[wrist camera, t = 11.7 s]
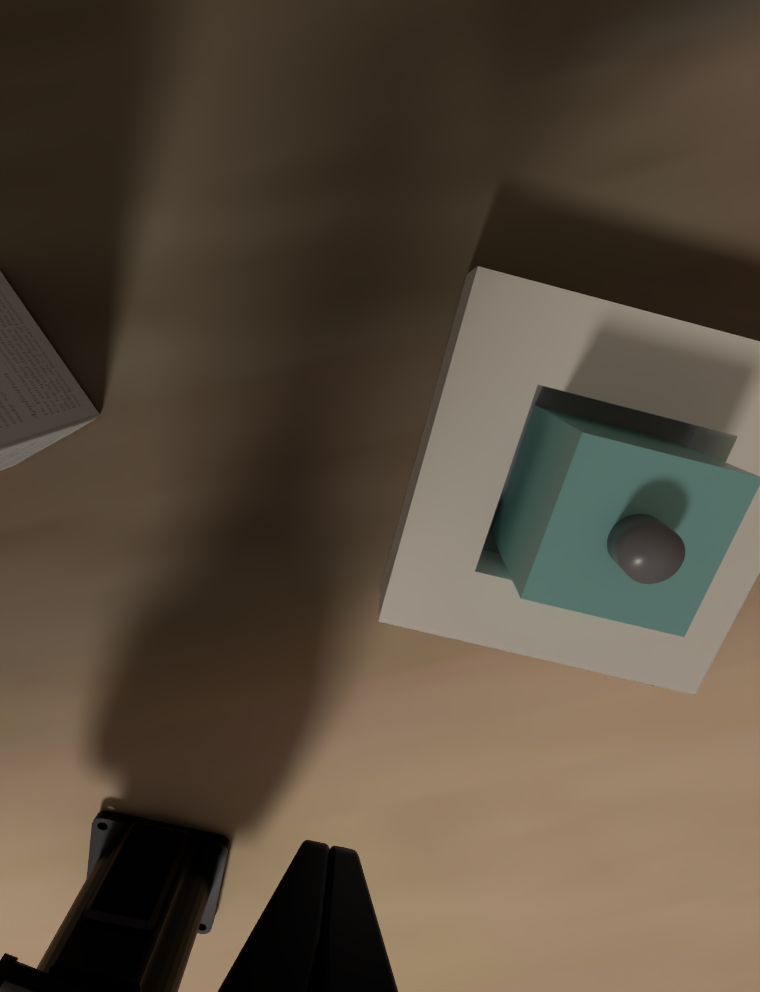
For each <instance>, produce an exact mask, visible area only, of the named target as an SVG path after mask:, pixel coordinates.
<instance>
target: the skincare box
mask: <svg viewBox="0 0 760 992" xmlns="http://www.w3.org/2000/svg"><path fill="white" fill-rule="evenodd" d="M98 416H99V413H98V411H97V410H96V408H95V407H94V405H93V404H92V403H91V401H90V400H89V398H88V397H87V396H86V394H85V393H84V391H83V390H82V388H81V387H80V385H79V384H78V383H77V381H76V380H75V378H74V377H73V375H72V374H71V373H70V371H69V370H68V368H67V367H66V365H65V364H64V362H63V361H62V360H61V358H60V357H59V355H58V354H57V352H56V351H55V349H54V348H53V347H52V345H51V344H50V342H49V341H48V339H47V338H46V336H45V335H44V334H43V332H42V331H41V329H40V328H39V326H38V325H37V323H36V322H35V320H34V319H33V318H32V316H31V315H30V313H29V312H28V310H27V309H26V307H25V306H24V304H23V303H22V302H21V300H20V299H19V297H18V296H17V294H16V293H15V292H14V290H13V289H12V287H11V286H10V284H9V283H8V281H7V280H6V278H5V277H4V275H3V274H2V272H1V271H0V471H1V470H4V469H6V468H9V467H11V466H14V465H16V464H18V463H19V462H21V461H23V460H25V459H26V458H28V457H30V456H32V455H33V454H35V453H37V452H39V451H40V450H42V449H44V448H46V447H48V446H49V445H51V444H53V443H55V442H57V441H58V440H60V439H62V438H64V437H66V436H67V435H69V434H71V433H73V432H74V431H76V430H78V429H80V428H81V427H83V426H85V425H87V424H88V423H90V422H92V421H93V420H95V419H96V418H98Z"/></svg>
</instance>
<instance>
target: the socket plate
mask: <svg viewBox="0 0 760 992" xmlns="http://www.w3.org/2000/svg"><path fill="white" fill-rule="evenodd" d="M534 405H537V406H540V407H544V408H548V409H552V410H556V411H560V412H564V413H568V414H572V415H576V416H580V417H584V418H588V419H592V420H596V421H600V422H604V423H608V424H611V425H615V426H619V427H623V428H627V429H631V430H635V431H639V432H643V433H647V434H651V435H655V436H659V437H663V438H667V439H670V440H672V441H675V442H677V443H680V444H682V445H685V446H687V447H689V448H692V449H694V450H697V451H699V452H702V453H704V454H706V455H709V456H711V457H714V458H716V459H718V460H721V461H723V462H726V463H728V464H731V465H733V466H735V467H738V468H740V469H743V470H745V471H748V472H750V473H752V474H755V475H757V476H760V341H756V340H753V339H749V338H745V337H741V336H738V335H734V334H730V333H726V332H723V331H719V330H715V329H711V328H708V327H704V326H700V325H696V324H693V323H689V322H685V321H682V320H678V319H674V318H670V317H667V316H663V315H659V314H655V313H652V312H648V311H644V310H640V309H637V308H633V307H629V306H625V305H622V304H618V303H614V302H610V301H607V300H603V299H599V298H595V297H592V296H588V295H584V294H580V293H577V292H573V291H569V290H566V289H562V288H558V287H554V286H551V285H547V284H543V283H539V282H536V281H532V280H528V279H524V278H521V277H517V276H513V275H509V274H506V273H502V272H498V271H494V270H491V269H487V268H483V267H479V266H477V267H476V268H475V269H473V270H472V271H471V272H469V273H468V274H467V275H466V279H465V283H464V286H463V290H462V293H461V297H460V301H459V304H458V308H457V312H456V315H455V319H454V322H453V326H452V330H451V333H450V337H449V341H448V344H447V348H446V351H445V355H444V359H443V362H442V366H441V370H440V373H439V377H438V380H437V384H436V388H435V391H434V395H433V398H432V402H431V406H430V409H429V413H428V417H427V420H426V424H425V427H424V431H423V435H422V438H421V442H420V446H419V449H418V453H417V456H416V460H415V464H414V467H413V471H412V475H411V478H410V482H409V485H408V489H407V493H406V496H405V500H404V504H403V507H402V511H401V514H400V518H399V522H398V525H397V529H396V532H395V536H394V540H393V543H392V547H391V551H390V554H389V558H388V561H387V565H386V569H385V572H384V576H383V580H382V583H381V587H380V599H379V615H378V621H379V622H384V623H388V624H392V625H397V626H401V627H405V628H409V629H414V630H418V631H422V632H427V633H431V634H435V635H440V636H444V637H448V638H452V639H457V640H461V641H465V642H470V643H474V644H478V645H483V646H487V647H491V648H495V649H500V650H504V651H508V652H513V653H517V654H521V655H525V656H530V657H534V658H538V659H543V660H547V661H551V662H556V663H560V664H564V665H568V666H573V667H577V668H581V669H586V670H590V671H594V672H599V673H603V674H607V675H611V676H616V677H620V678H624V679H629V680H633V681H637V682H641V683H646V684H650V685H654V686H659V687H663V688H667V689H672V690H676V691H680V692H684V693H689V694H693V695H695V694H696V692H697V690H698V688H699V686H700V685H701V683H702V681H703V679H704V677H705V675H706V673H707V671H708V669H709V668H710V666H711V664H712V662H713V660H714V658H715V656H716V654H717V652H718V650H719V649H720V647H721V645H722V643H723V641H724V639H725V637H726V635H727V633H728V632H729V630H730V628H731V626H732V624H733V622H734V620H735V618H736V616H737V615H738V613H739V611H740V609H741V607H742V605H743V603H744V601H745V599H746V597H747V596H748V594H749V592H750V590H751V588H752V586H753V584H754V582H755V580H756V579H757V577H758V575H759V573H760V486H759V488H758V490H757V492H756V494H755V496H754V498H753V500H752V502H751V504H750V506H749V508H748V510H747V512H746V514H745V516H744V518H743V520H742V522H741V524H740V526H739V528H738V530H737V532H736V534H735V536H734V538H733V540H732V542H731V544H730V546H729V548H728V550H727V552H726V554H725V556H724V558H723V560H722V562H721V564H720V566H719V568H718V570H717V572H716V574H715V576H714V578H713V580H712V582H711V584H710V586H709V588H708V590H707V592H706V594H705V596H704V598H703V600H702V602H701V604H700V606H699V608H698V610H697V612H696V615H695V617H694V619H693V621H692V623H691V625H690V627H689V629H688V631H687V633H686V635H685V637H682V636H677V635H673V634H669V633H665V632H660V631H656V630H652V629H648V628H643V627H639V626H635V625H631V624H626V623H622V622H618V621H614V620H609V619H605V618H601V617H597V616H592V615H588V614H584V613H580V612H575V611H571V610H567V609H563V608H558V607H554V606H550V605H546V604H542V603H537V602H533V601H529V600H525V599H521V598H520V596H519V594H518V592H517V590H516V587H515V585H514V583H513V581H512V579H511V576H510V574H509V572H508V570H507V568H506V565H505V563H504V561H503V559H502V557H501V554H500V552H499V550H498V548H497V546H496V543H495V541H494V539H493V537H492V535H491V531H492V528H493V525H494V522H495V519H496V516H497V514H498V511H499V508H500V505H501V502H502V499H503V496H504V493H505V490H506V487H507V484H508V481H509V478H510V475H511V472H512V469H513V466H514V463H515V460H516V457H517V454H518V451H519V448H520V445H521V442H522V439H523V436H524V433H525V430H526V427H527V424H528V421H529V418H530V415H531V412H532V409H533V406H534Z"/></svg>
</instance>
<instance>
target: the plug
mask: <svg viewBox="0 0 760 992" xmlns="http://www.w3.org/2000/svg"><path fill="white" fill-rule="evenodd" d="M759 486H760V476H757V475H755V474H752V473H750V472H748V471H745V470H743V469H740V468H738V467H735V466H733V465H731V464H728V463H726V462H723V461H721V460H718V459H716V458H714V457H711V456H709V455H706V454H704V453H702V452H699V451H697V450H694V449H692V448H689V447H687V446H685V445H682V444H680V443H677V442H675V441H672V440H670V439H667V438H663V437H659V436H655V435H651V434H647V433H643V432H639V431H635V430H631V429H627V428H623V427H619V426H615V425H611V424H608V423H604V422H600V421H596V420H592V419H588V418H584V417H580V416H576V415H572V414H568V413H564V412H560V411H556V410H552V409H548V408H544V407H540V406H537V405H534V406H533V409H532V412H531V415H530V418H529V421H528V424H527V427H526V430H525V433H524V436H523V439H522V442H521V445H520V448H519V451H518V454H517V457H516V460H515V463H514V466H513V469H512V472H511V475H510V478H509V481H508V484H507V487H506V490H505V493H504V496H503V499H502V502H501V505H500V508H499V511H498V514H497V516H496V519H495V522H494V525H493V528H492V531H491V535H492V537H493V539H494V541H495V543H496V546H497V548H498V550H499V552H500V554H501V557H502V559H503V561H504V563H505V565H506V568H507V570H508V572H509V574H510V576H511V579H512V581H513V583H514V585H515V587H516V590H517V592H518V594H519V596H520V598H521V599H525V600H529V601H533V602H537V603H542V604H546V605H550V606H554V607H558V608H563V609H567V610H571V611H575V612H580V613H584V614H588V615H592V616H597V617H601V618H605V619H609V620H614V621H618V622H622V623H626V624H631V625H635V626H639V627H643V628H648V629H652V630H656V631H660V632H665V633H669V634H673V635H677V636H682V637H685V635H686V633H687V631H688V629H689V627H690V625H691V623H692V621H693V619H694V617H695V615H696V612H697V610H698V608H699V606H700V604H701V602H702V600H703V598H704V596H705V594H706V592H707V590H708V588H709V586H710V584H711V582H712V580H713V578H714V576H715V574H716V572H717V570H718V568H719V566H720V564H721V562H722V560H723V558H724V556H725V554H726V552H727V550H728V548H729V546H730V544H731V542H732V540H733V538H734V536H735V534H736V532H737V530H738V528H739V526H740V524H741V522H742V520H743V518H744V516H745V514H746V512H747V510H748V508H749V506H750V504H751V502H752V500H753V498H754V496H755V494H756V492H757V490H758V488H759Z"/></svg>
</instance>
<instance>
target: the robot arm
mask: <svg viewBox="0 0 760 992" xmlns="http://www.w3.org/2000/svg"><path fill="white" fill-rule="evenodd" d="M229 846H230V841H229V839H228V838H227V837H225V836H223V835H219V834H214V833H210V832H205V831H200V830H195V829H191V828H186V827H181V826H176V825H172V824H167V823H162V822H157V821H153V820H148V819H143V818H138V817H134V816H129V815H124V814H119V813H115V812H110V811H101V812H99V813H98V814H97V816H96V817H95V819H94V821H93V823H92V829H91V840H90V850H89V861H88V871H87V880H86V881H85V883H84V885H83V887H82V889H81V890H80V892H79V894H78V896H77V897H76V899H75V901H74V903H73V905H72V906H71V908H70V910H69V912H68V913H67V915H66V917H65V919H64V921H63V922H62V924H61V926H60V928H59V930H58V931H57V933H56V935H55V937H54V938H53V940H52V942H51V944H50V946H49V947H48V949H47V951H46V953H45V954H44V956H43V958H42V960H41V962H40V963H39V965H38V967H37V969H35V968H33V967H30V966H28V965H25V964H23V963H20V962H18V961H17V959H18V958H17V957H14V956H12V955H9V954H7V953H5V954H4V955H3V957H2V959H1V960H0V992H178V989H179V986H180V983H181V980H182V977H183V974H184V971H185V968H186V965H187V962H188V959H189V956H190V953H191V950H192V947H193V944H194V941H195V938H196V935H197V933H200V934H206V933H208V932H210V930H211V928H212V925H213V922H214V918H215V913H216V908H217V903H218V899H219V894H220V889H221V884H222V880H223V875H224V870H225V865H226V861H227V856H228V851H229ZM218 992H398V990H397V986H396V983H395V979H394V976H393V973H392V969H391V966H390V962H389V959H388V955H387V952H386V948H385V945H384V942H383V938H382V935H381V931H380V928H379V924H378V921H377V918H376V914H375V911H374V907H373V904H372V900H371V897H370V893H369V890H368V887H367V883H366V880H365V876H364V873H363V869H362V866H361V863H360V859H359V856H358V854H357V852H356V851H355V850H353V849H348V848H344V847H339V846H332V847H331V848H330V849H329V846H328V845H327V844H325V843H320V842H315V841H311V840H306V841H304V842H303V843H302V845H301V846H300V848H299V850H298V851H297V853H296V855H295V857H294V859H293V860H292V862H291V864H290V866H289V867H288V869H287V871H286V873H285V874H284V876H283V878H282V880H281V881H280V883H279V885H278V887H277V888H276V890H275V892H274V894H273V895H272V897H271V899H270V901H269V902H268V904H267V906H266V908H265V909H264V911H263V913H262V915H261V916H260V918H259V920H258V922H257V923H256V925H255V927H254V929H253V931H252V932H251V934H250V936H249V938H248V939H247V941H246V943H245V945H244V946H243V948H242V950H241V952H240V953H239V955H238V957H237V959H236V960H235V962H234V964H233V966H232V967H231V969H230V971H229V973H228V974H227V976H226V978H225V980H224V981H223V983H222V985H221V987H220V988H219V990H218Z"/></svg>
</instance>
